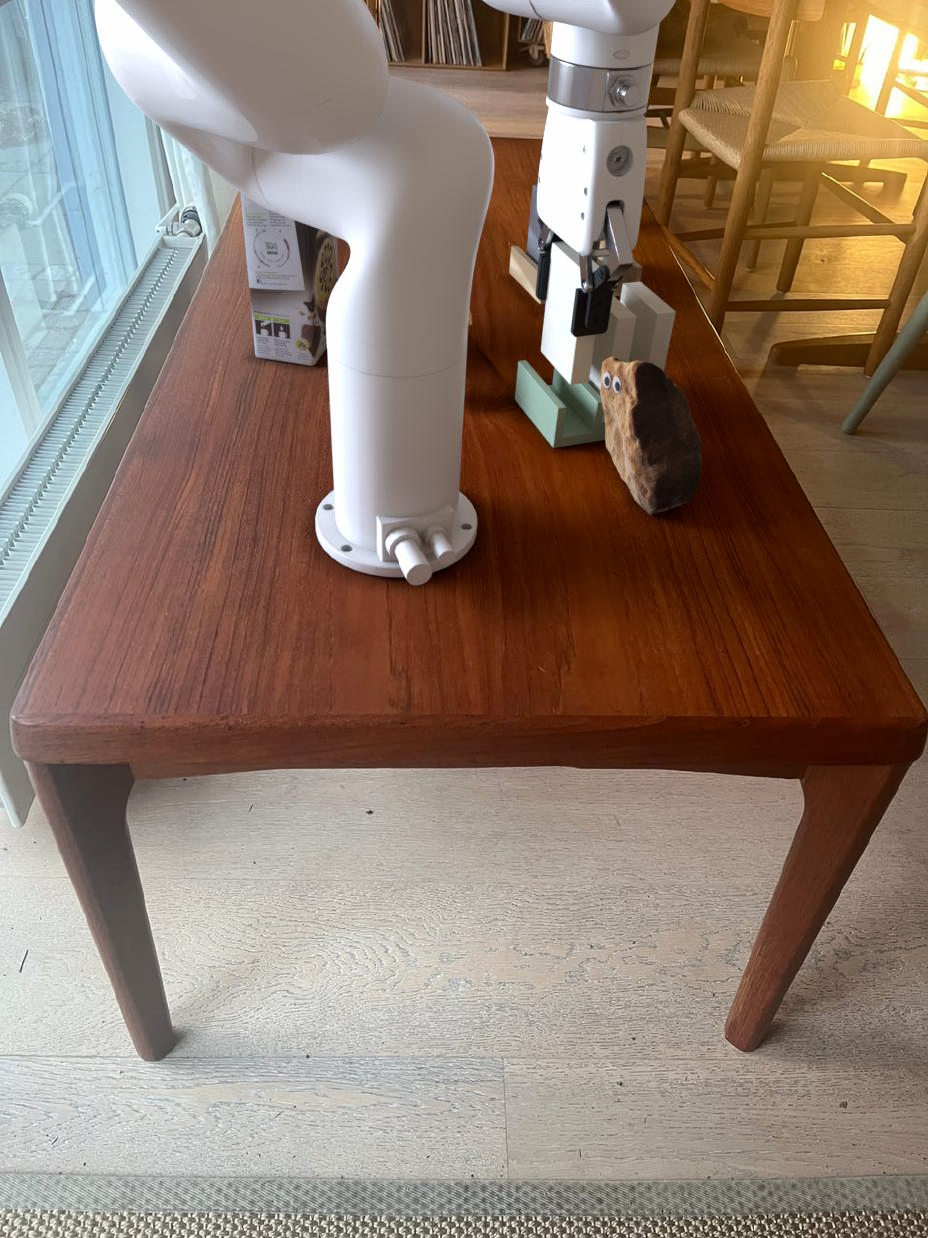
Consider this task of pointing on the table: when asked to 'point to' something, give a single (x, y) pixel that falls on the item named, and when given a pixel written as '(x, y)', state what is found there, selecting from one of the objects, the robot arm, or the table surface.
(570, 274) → the cream book
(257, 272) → the coffee box
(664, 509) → the decorative rock
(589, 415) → the green and white rack
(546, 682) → the table surface
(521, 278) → the wooden rack with slabs
